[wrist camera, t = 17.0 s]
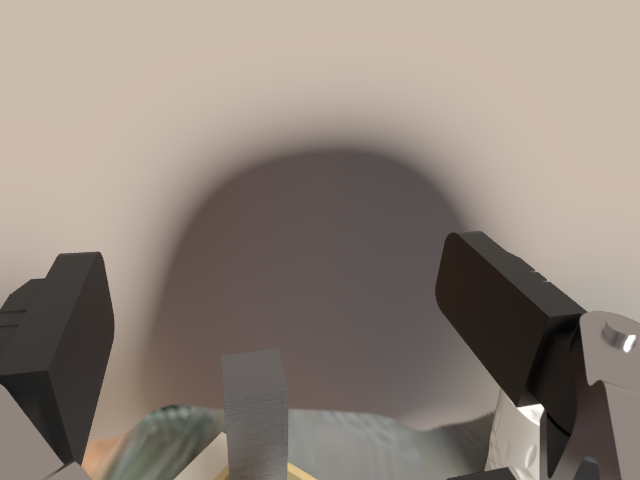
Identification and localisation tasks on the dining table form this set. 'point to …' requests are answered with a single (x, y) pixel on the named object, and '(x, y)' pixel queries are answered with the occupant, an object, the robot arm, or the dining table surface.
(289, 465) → the white board with frames
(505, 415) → the white cup
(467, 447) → the dining table surface
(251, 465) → the bar
